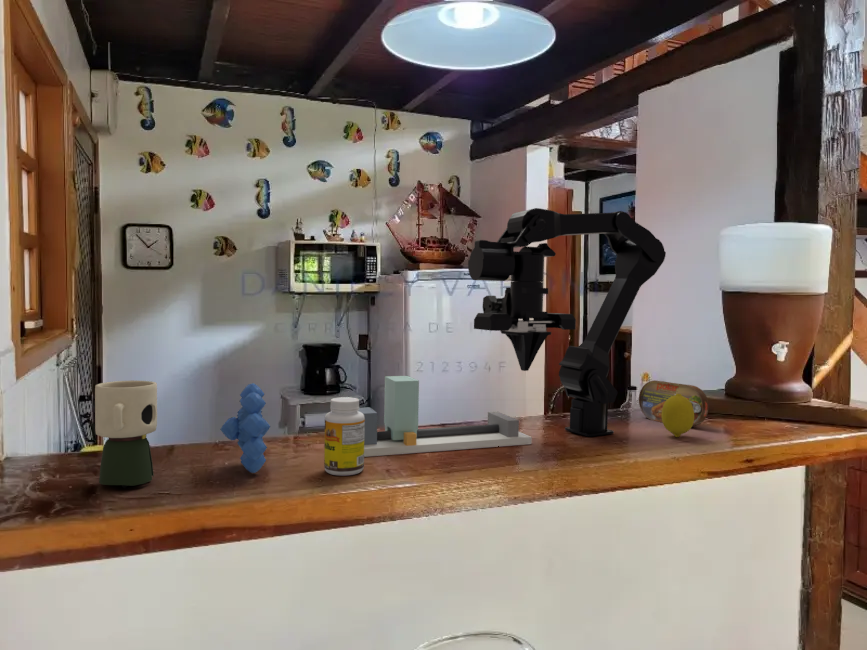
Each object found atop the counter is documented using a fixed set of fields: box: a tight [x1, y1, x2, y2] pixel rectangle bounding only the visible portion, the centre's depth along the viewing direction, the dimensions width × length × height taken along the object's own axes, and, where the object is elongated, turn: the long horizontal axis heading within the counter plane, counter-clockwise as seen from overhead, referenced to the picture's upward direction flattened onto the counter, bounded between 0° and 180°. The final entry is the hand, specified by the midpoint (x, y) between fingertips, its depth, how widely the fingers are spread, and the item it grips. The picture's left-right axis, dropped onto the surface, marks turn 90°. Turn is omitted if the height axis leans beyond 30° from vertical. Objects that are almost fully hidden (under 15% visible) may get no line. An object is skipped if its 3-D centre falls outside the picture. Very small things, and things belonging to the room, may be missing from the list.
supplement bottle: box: [323, 396, 365, 477], centre depth 87 cm, size 6×6×10 cm
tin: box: [638, 380, 710, 427], centre depth 125 cm, size 15×3×8 cm, turn 32°
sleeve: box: [383, 375, 420, 440], centre depth 102 cm, size 4×6×10 cm, turn 20°
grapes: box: [219, 382, 271, 474], centre depth 86 cm, size 12×7×12 cm, turn 19°
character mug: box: [94, 380, 158, 489], centre depth 79 cm, size 11×7×13 cm, turn 15°
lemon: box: [661, 394, 694, 438], centre depth 112 cm, size 6×6×8 cm
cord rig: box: [359, 406, 533, 458], centre depth 104 cm, size 30×10×6 cm, turn 110°
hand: (524, 370), depth 109 cm, fingers closed
